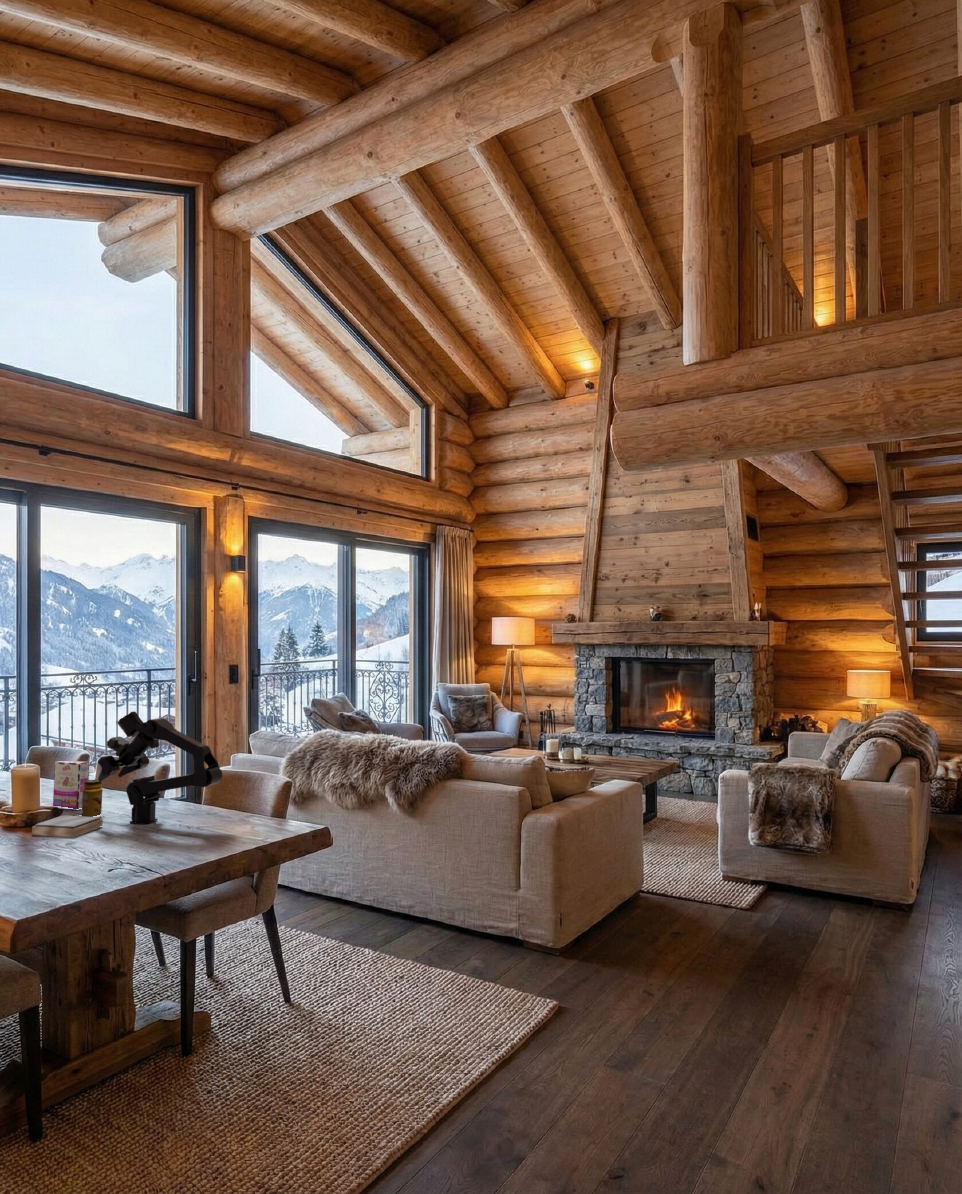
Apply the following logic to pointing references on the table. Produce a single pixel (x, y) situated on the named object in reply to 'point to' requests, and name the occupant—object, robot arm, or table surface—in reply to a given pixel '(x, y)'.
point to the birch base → (67, 826)
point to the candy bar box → (69, 783)
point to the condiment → (92, 798)
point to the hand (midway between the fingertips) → (109, 778)
